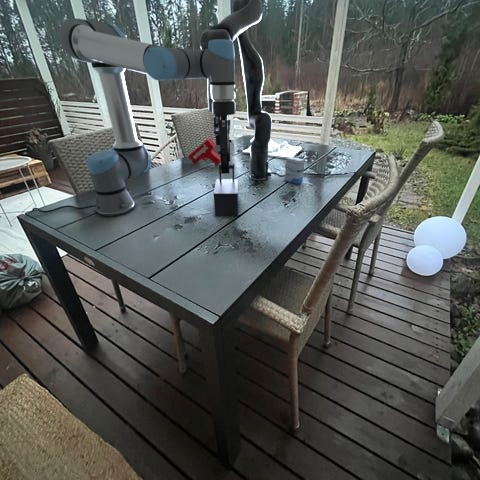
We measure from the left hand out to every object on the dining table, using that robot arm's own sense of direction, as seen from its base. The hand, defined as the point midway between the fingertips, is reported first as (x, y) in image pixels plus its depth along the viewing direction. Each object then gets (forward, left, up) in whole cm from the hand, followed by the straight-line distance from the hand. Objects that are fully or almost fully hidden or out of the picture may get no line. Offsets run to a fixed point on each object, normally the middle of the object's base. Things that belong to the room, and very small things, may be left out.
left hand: (226, 166), depth 97 cm
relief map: (+28, +102, -21) cm, 108 cm away
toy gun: (-17, +73, -21) cm, 78 cm away
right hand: (-3, +18, +4) cm, 19 cm away
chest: (-1, +10, -21) cm, 23 cm away
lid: (-1, +10, -12) cm, 16 cm away
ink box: (+33, +42, -21) cm, 57 cm away
